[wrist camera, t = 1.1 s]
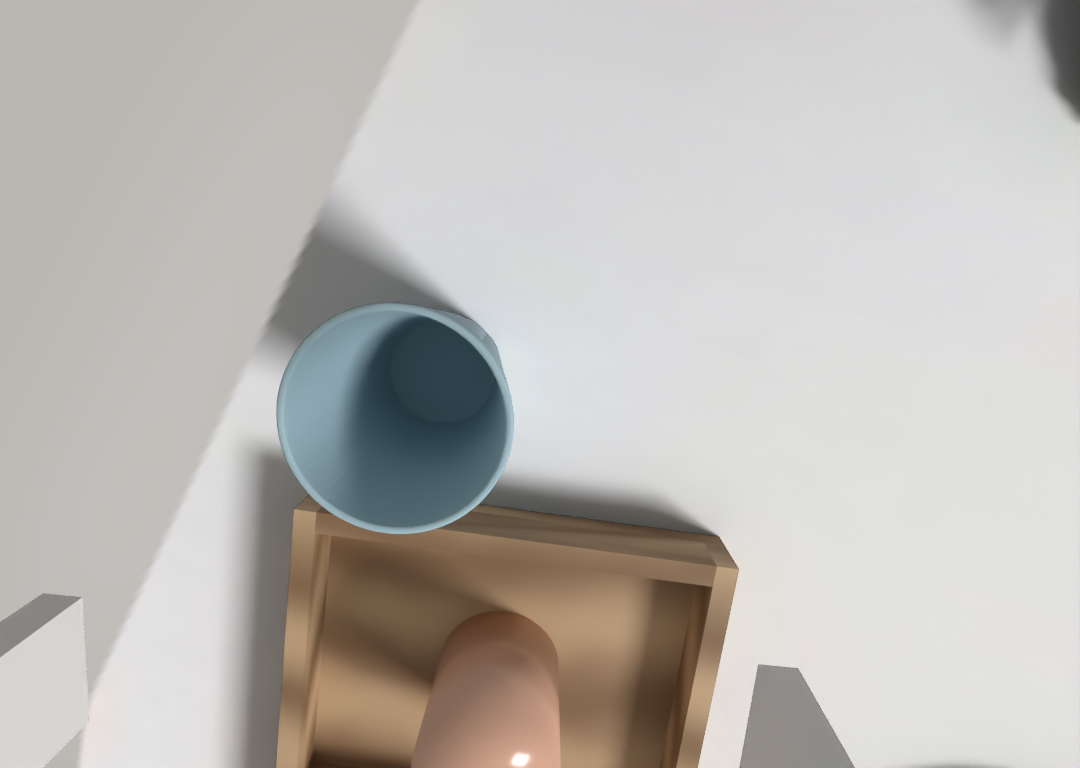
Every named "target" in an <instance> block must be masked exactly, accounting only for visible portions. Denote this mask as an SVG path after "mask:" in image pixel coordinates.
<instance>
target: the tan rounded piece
mask: <svg viewBox="0 0 1080 768" xmlns="http://www.w3.org/2000/svg"><path fill="white" fill-rule="evenodd" d="M411 768H561V761H560V710H559V664H558V656H557V652H556V649H555V646H554V644H553V642H552V640H551V639H550V637H549V636H548V634H547V633H546V632H545V631H544V630H543V629H542V628H541V627H540V626H539V625H537V624H536V623H535V622H533V621H532V620H530V619H528V618H526V617H524V616H522V615H519V614H516V613H511V612H505V611H491V612H485V613H481V614H477V615H475V616H472V617H470V618H468V619H467V620H465V621H463V622H462V623H461V624H459V625H458V626H457V627H456V628H455V629H454V630H453V631H452V632H451V634H450V635H449V636H448V638H447V640H446V642H445V643H444V646H443V649H442V652H441V656H440V659H439V663H438V666H437V670H436V673H435V677H434V681H433V684H432V688H431V691H430V695H429V698H428V702H427V706H426V709H425V713H424V716H423V720H422V724H421V727H420V731H419V734H418V738H417V741H416V745H415V749H414V752H413V756H412V762H411Z"/></svg>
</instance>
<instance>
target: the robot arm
mask: <svg viewBox="0 0 1080 768" xmlns="http://www.w3.org/2000/svg"><path fill="white" fill-rule="evenodd" d="M88 722H89V704H88V687H87V671H86V654H85V637H84V620H83V604H82V597H74V596H63V595H52V594H42V595H40V596H39V597H37V598H36V599H34V600H33V601H31V602H30V603H28V604H27V605H25V606H24V607H22V608H21V609H19V610H18V611H16V612H15V613H13V614H12V615H10V616H9V617H7V618H6V619H4V620H3V621H1V622H0V768H43V767H44V766H45V765H46V764H47V763H48V762H49V761H50V760H51V759H52V758H53V757H54V756H55V755H56V754H57V753H58V752H59V751H60V750H61V749H62V748H63V747H64V746H65V745H66V744H67V743H68V742H69V741H70V740H71V739H72V738H73V737H74V736H75V735H76V734H77V733H78V732H79V731H80V730H81V729H82V728H83V727H84V726H85V725H86V724H87V723H88ZM739 768H855V767H854V765H853V764H852V762H851V760H850V758H849V757H848V755H847V753H846V751H845V750H844V748H843V746H842V744H841V743H840V741H839V739H838V737H837V736H836V734H835V732H834V730H833V729H832V727H831V725H830V723H829V722H828V720H827V718H826V716H825V715H824V713H823V711H822V709H821V708H820V706H819V704H818V702H817V701H816V699H815V697H814V695H813V694H812V692H811V690H810V688H809V687H808V685H807V683H806V681H805V680H804V678H803V676H802V674H801V673H800V671H799V669H798V668H789V667H779V666H769V665H759V664H758V669H757V674H756V680H755V685H754V691H753V696H752V702H751V707H750V713H749V718H748V724H747V729H746V735H745V740H744V746H743V751H742V756H741V762H740V767H739Z"/></svg>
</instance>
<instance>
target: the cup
mask: <svg viewBox="0 0 1080 768" xmlns="http://www.w3.org/2000/svg"><path fill="white" fill-rule="evenodd" d="M277 428H278V435H279V439H280V443H281V447H282V450H283V453H284V456H285V458H286V460H287V462H288V464H289V466H290V468H291V470H292V472H293V474H294V475H295V477H296V478H297V480H298V481H299V483H300V484H301V485H302V486H303V488H304V489H305V490H306V491H307V493H308V494H309V495H310V496H311V497H312V498H313V499H314V500H315V501H317V502H318V503H319V504H320V505H321V506H322V507H324V508H325V509H326V510H328V511H329V512H331V513H332V514H334V515H335V516H337V517H339V518H340V519H342V520H344V521H346V522H348V523H350V524H353V525H355V526H358V527H361V528H364V529H367V530H371V531H375V532H382V533H389V534H410V533H419V532H425V531H429V530H433V529H436V528H439V527H442V526H445V525H447V524H449V523H451V522H453V521H455V520H457V519H459V518H461V517H462V516H464V515H465V514H467V513H468V512H469V511H471V510H472V509H473V508H475V507H476V506H477V505H478V504H479V503H480V502H481V501H482V500H483V499H484V498H485V497H486V496H487V495H488V494H489V493H490V491H491V490H492V488H493V487H494V486H495V484H496V482H497V481H498V479H499V477H500V476H501V474H502V472H503V470H504V468H505V465H506V463H507V460H508V457H509V454H510V450H511V446H512V440H513V431H514V414H513V406H512V400H511V395H510V391H509V387H508V384H507V380H506V377H505V375H504V372H503V368H502V364H501V360H500V356H499V352H498V348H497V346H496V344H495V342H494V341H493V339H492V338H491V337H490V336H489V335H488V334H487V333H486V332H485V330H484V329H483V328H482V327H481V326H480V325H479V324H477V323H476V322H474V321H472V320H469V319H466V318H464V317H462V316H460V315H458V314H454V313H450V312H446V311H440V310H435V309H430V308H426V307H422V306H417V305H412V304H405V303H376V304H369V305H364V306H360V307H356V308H353V309H350V310H347V311H345V312H342V313H340V314H338V315H336V316H334V317H332V318H331V319H329V320H327V321H326V322H324V323H323V324H322V325H320V326H319V327H318V328H316V329H315V330H314V331H313V332H312V333H311V334H310V335H309V336H308V337H307V338H306V339H305V340H304V341H303V342H302V343H301V345H300V346H299V347H298V349H297V350H296V351H295V353H294V354H293V356H292V358H291V359H290V361H289V363H288V365H287V367H286V369H285V372H284V374H283V377H282V380H281V384H280V387H279V392H278V397H277Z"/></svg>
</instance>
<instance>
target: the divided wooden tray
mask: <svg viewBox="0 0 1080 768" xmlns="http://www.w3.org/2000/svg"><path fill="white" fill-rule="evenodd" d="M738 572H739V568H738V567H737V565H736V564H735V562H734V560H733V559H732V557H731V555H730V554H729V552H728V550H727V549H726V547H725V546H724V544H723V542H722V541H721V539H720V537H718V536H710V535H703V534H696V533H688V532H681V531H673V530H666V529H659V528H651V527H644V526H636V525H629V524H622V523H614V522H607V521H599V520H592V519H585V518H577V517H570V516H562V515H555V514H548V513H540V512H533V511H525V510H518V509H511V508H503V507H496V506H488V505H481V504H478V505H477V506H476V507H475V508H473V509H472V510H471V511H469V512H468V513H467V514H465V515H464V516H462V517H461V518H459V519H457V520H455V521H453V522H451V523H449V524H447V525H445V526H442V527H439V528H436V529H433V530H429V531H425V532H419V533H410V534H389V533H382V532H375V531H371V530H367V529H364V528H361V527H358V526H355V525H353V524H350V523H348V522H346V521H344V520H342V519H340V518H339V517H337V516H335V515H334V514H332V513H331V512H329V511H328V510H326V509H325V508H324V507H322V506H321V505H320V504H319V503H318V502H317V501H315V500H314V499H313V498H312V497H311V496H310V495H308V496H307V497H306V498H305V499H304V500H303V501H302V502H301V503H300V504H299V505H298V506H297V507H296V508H295V509H294V514H293V528H292V543H291V557H290V572H289V586H288V601H287V615H286V630H285V644H284V659H283V673H282V688H281V702H280V717H279V731H278V746H277V760H276V768H411V762H412V756H413V752H414V749H415V745H416V741H417V738H418V734H419V731H420V727H421V724H422V720H423V716H424V713H425V709H426V706H427V702H428V698H429V695H430V691H431V688H432V684H433V681H434V677H435V673H436V670H437V666H438V663H439V659H440V656H441V652H442V649H443V646H444V643H445V642H446V640H447V638H448V636H449V635H450V634H451V632H452V631H453V630H454V629H455V628H456V627H457V626H458V625H459V624H461V623H462V622H463V621H465V620H467V619H468V618H470V617H472V616H475V615H477V614H481V613H485V612H491V611H505V612H511V613H516V614H519V615H522V616H524V617H526V618H528V619H530V620H532V621H533V622H535V623H536V624H537V625H539V626H540V627H541V628H542V629H543V630H544V631H545V632H546V633H547V634H548V636H549V637H550V639H551V640H552V642H553V644H554V646H555V649H556V652H557V656H558V664H559V710H560V761H561V768H698V763H699V759H700V754H701V749H702V744H703V739H704V735H705V730H706V725H707V720H708V716H709V711H710V706H711V701H712V696H713V692H714V687H715V682H716V677H717V672H718V668H719V663H720V658H721V653H722V649H723V644H724V639H725V634H726V629H727V625H728V620H729V615H730V610H731V606H732V601H733V596H734V591H735V586H736V582H737V577H738Z"/></svg>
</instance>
